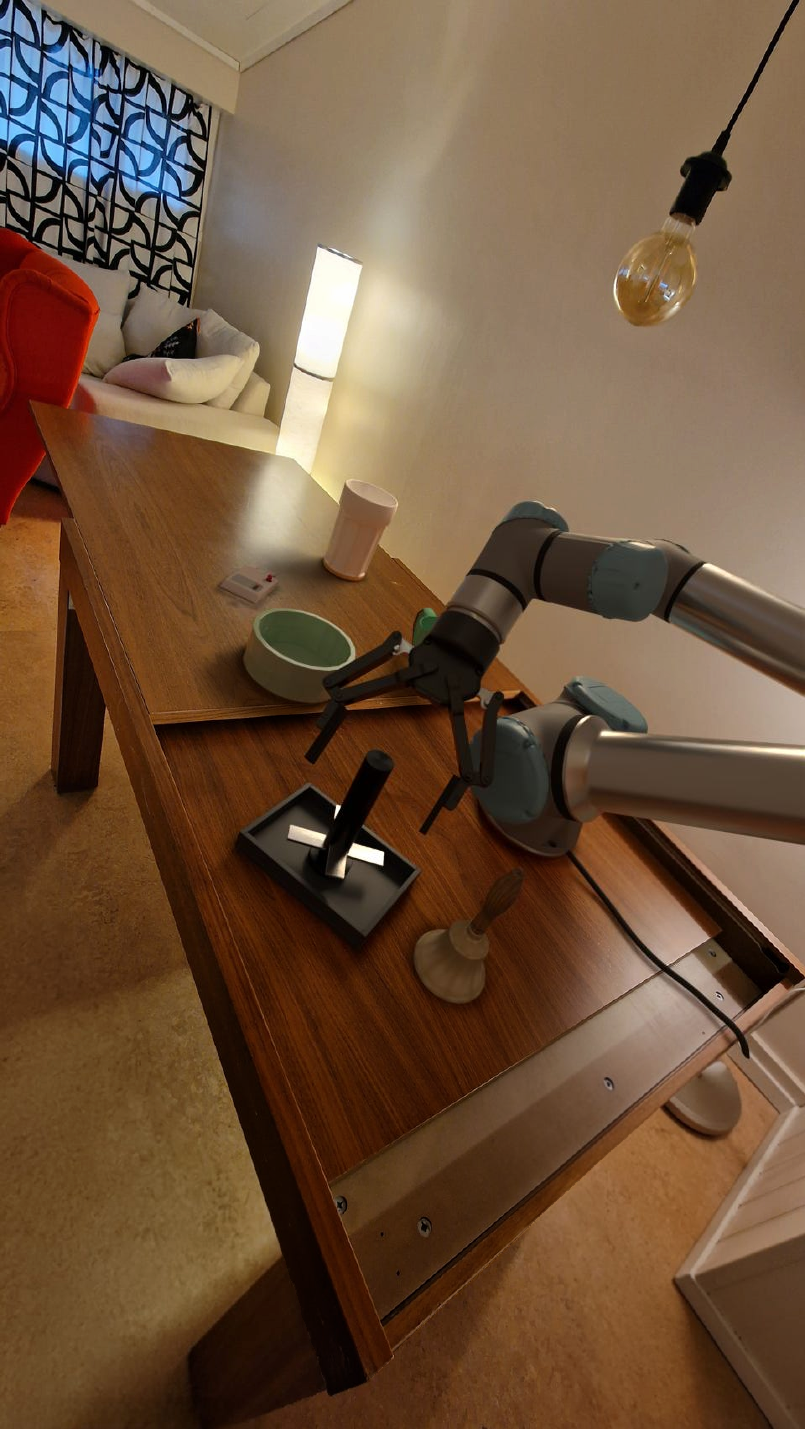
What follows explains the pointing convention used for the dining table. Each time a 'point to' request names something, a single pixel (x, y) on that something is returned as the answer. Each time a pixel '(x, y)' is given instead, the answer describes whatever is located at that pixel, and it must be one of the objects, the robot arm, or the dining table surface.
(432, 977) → the hand bell
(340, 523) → the cup
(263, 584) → the remote control
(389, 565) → the dining table surface
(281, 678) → the green bowl
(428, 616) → the mug
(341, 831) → the blade
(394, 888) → the tray
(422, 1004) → the dining table surface
